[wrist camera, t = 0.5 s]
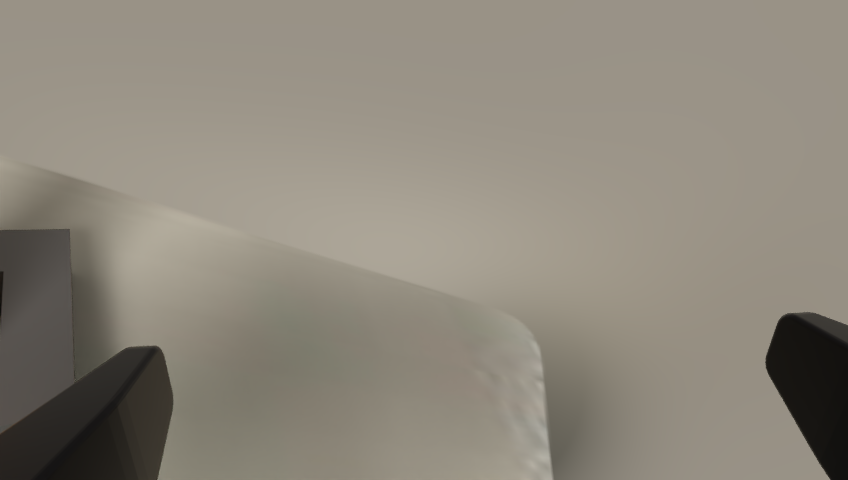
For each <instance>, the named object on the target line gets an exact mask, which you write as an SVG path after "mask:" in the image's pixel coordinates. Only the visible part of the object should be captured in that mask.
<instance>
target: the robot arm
mask: <svg viewBox="0 0 848 480" xmlns="http://www.w3.org/2000/svg"><path fill="white" fill-rule="evenodd" d="M765 363H766V369H767V372H768V374H769V376H770V378H771V380H772V381H773V383H774V385H775V387H776V389H777V390H778V392H779V394H780V396H781V397H782V399H783V401H784V402H785V404H786V406H787V408H788V410H789V411H790V413H791V415H792V417H793V418H794V420H795V422H796V424H797V425H798V427H799V429H800V431H801V432H802V434H803V436H804V438H805V439H806V441H807V443H808V445H809V446H810V448H811V450H812V451H813V453H814V455H815V456H816V458H817V460H818V462H819V463H820V465H821V466H822V468H823V469H824V471H825V472H826V474H827V475H828V477H829V478H830V480H848V325H846V324H843V323H840V322H838V321H835V320H832V319H829V318H827V317H824V316H821V315H819V314H816V313H810V312H804V313H788V314H785V315H783V316H782V317H781V318H780V319H779V321H778V323H777V326H776V329H775V332H774V335H773V337H772V340H771V343H770V346H769V349H768V352H767V355H766V362H765ZM172 410H173V392H172V387H171V383H170V379H169V374H168V370H167V366H166V361H165V357H164V354H163V352H162V350H161V349H160V348H159V347H157V346H139V347H128V348H126V349H124V350H122V351H121V352H119V353H118V354H116V355H115V356H114V357H112V358H111V359H109V360H108V361H106V362H105V363H103V364H102V365H100V366H99V367H97V368H96V369H94V370H93V371H91V372H90V373H89V374H87V375H86V376H84V377H83V378H81V379H80V380H78V381H77V382H75V383H74V384H72V385H71V386H69V387H68V388H66V389H65V390H64V391H62V392H61V393H59V394H58V395H56V396H55V397H53V398H52V399H50V400H49V401H47V402H46V403H44V404H43V405H41V406H40V407H39V408H37V409H36V410H34V411H33V412H31V413H30V414H28V415H27V416H25V417H24V418H22V419H21V420H19V421H18V422H16V423H15V424H14V425H12V426H11V427H9V428H8V429H6V430H5V431H3V432H2V433H0V480H157V479H158V474H159V470H160V465H161V461H162V456H163V451H164V447H165V442H166V438H167V433H168V429H169V424H170V419H171V415H172Z"/></svg>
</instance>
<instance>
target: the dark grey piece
mask: <svg viewBox="0 0 848 480" xmlns="http://www.w3.org/2000/svg"><path fill="white" fill-rule="evenodd" d="M0 315H1V324H0V433H2V432H3V431H5V430H6V429H8V428H9V427H11V426H12V425H14V424H15V423H16V422H18V421H19V420H21V419H22V418H24V417H25V416H27V415H28V414H30V413H31V412H33V411H34V410H36V409H37V408H39V407H40V406H41V405H43V404H44V403H46V402H47V401H49V400H50V399H52V398H53V397H55V396H56V395H58V394H59V393H61V392H62V391H64V390H65V389H66V388H68V387H69V386H71V385H72V384H74V383H75V380H74V346H73V312H72V278H71V253H70V229H52V230H0Z"/></svg>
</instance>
